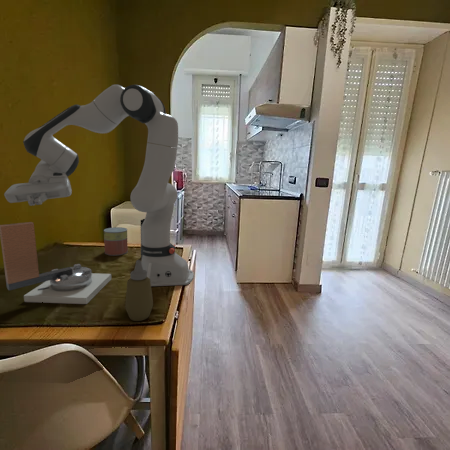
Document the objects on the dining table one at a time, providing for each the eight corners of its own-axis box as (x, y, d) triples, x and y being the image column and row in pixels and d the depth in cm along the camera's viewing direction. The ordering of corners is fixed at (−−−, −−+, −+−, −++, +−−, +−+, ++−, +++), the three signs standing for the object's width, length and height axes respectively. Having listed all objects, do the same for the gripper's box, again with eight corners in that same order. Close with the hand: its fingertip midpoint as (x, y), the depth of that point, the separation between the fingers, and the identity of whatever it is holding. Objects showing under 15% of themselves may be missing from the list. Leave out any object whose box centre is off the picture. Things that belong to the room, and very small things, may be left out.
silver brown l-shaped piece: (82, 273, 105) (78, 214, 100) (98, 283, 97) (95, 219, 92) (3, 293, 86) (-6, 222, 81) (15, 308, 78) (5, 229, 73)
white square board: (111, 279, 107) (111, 273, 106) (86, 304, 87) (86, 297, 86) (60, 277, 106) (60, 271, 106) (24, 301, 87) (23, 294, 86)
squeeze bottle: (155, 309, 86) (155, 256, 82) (149, 324, 78) (149, 265, 74) (130, 309, 85) (128, 255, 82) (121, 323, 77) (119, 264, 74)
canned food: (110, 248, 145) (109, 226, 143) (131, 249, 145) (130, 227, 142) (100, 254, 134) (99, 231, 132) (122, 256, 134) (121, 232, 131)
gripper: (8, 178, 96) (-6, 199, 86) (70, 172, 101) (64, 192, 91) (16, 193, 100) (3, 214, 90) (75, 187, 105) (70, 207, 95)
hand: (34, 203), depth 91 cm, fingers closed
